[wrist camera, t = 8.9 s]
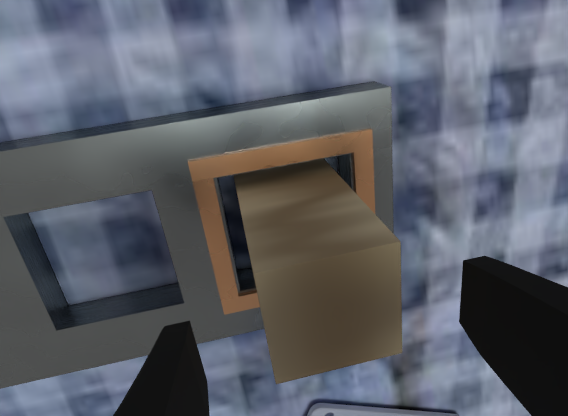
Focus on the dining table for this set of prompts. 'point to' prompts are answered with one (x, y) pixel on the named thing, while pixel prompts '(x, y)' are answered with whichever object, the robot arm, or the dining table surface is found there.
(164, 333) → the robot arm
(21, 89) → the dining table surface
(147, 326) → the gray peg hole board
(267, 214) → the birch peg
